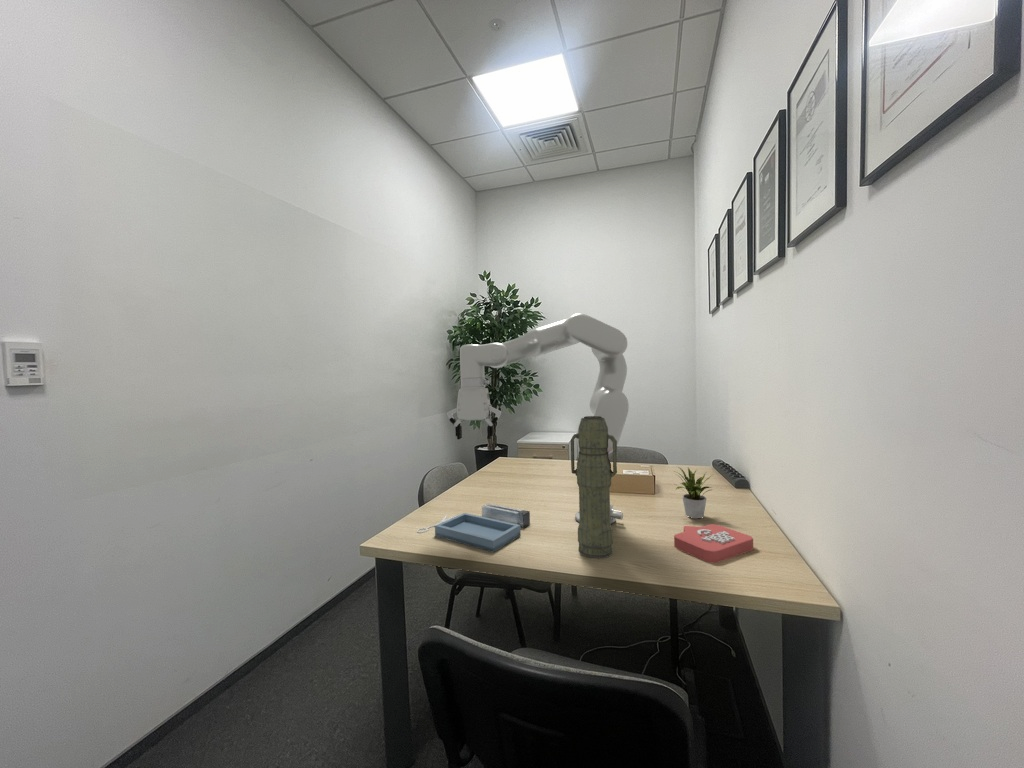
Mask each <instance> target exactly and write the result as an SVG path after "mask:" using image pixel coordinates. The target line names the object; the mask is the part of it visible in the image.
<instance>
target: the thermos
mask: <svg viewBox="0 0 1024 768" xmlns="http://www.w3.org/2000/svg"><path fill="white" fill-rule="evenodd" d="M577 432H578V434H577V433H574V434H573V436H572V437H571V439H570V467H571V469H570V470H571V474H574V475H575V476H576V483H577V486H578V502H579V503H578V504H579V505H578V509H579V511H578V512H579V516H580V522H578V527H577V542H578V552H579V554H580V555H582V556H584V557H587V558H591V559H605V558H608V557H610V556H612V555H613V544H614V540H613V539H614V536H613V528H612V525H611V524H610V505H611V498H610V497H611V491H610V490H611V486H612V478H613V477H614V476H615V475H617V474H618V468H617V464H618V461H617V460H618V457H617V456H618V444H617V440H616V439H615V438H614V436H612V435H609V434H608V427H607V424H606V421H605V419H604V418H602V417H600V416H594V415H589V416H588V415H587V416H583V417H581V418H580V422H579V425H578V429H577ZM575 439H576V440H577V439H579V449H580V452H579V453H578V458H577V462H576V466H575ZM608 439H611V441H612V442H613V451H612V462H611V460H610V458H609V457H608V455H609V454H608V450H607V448H608ZM575 467H576V468H575Z"/></svg>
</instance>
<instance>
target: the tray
mask: <svg viewBox="0 0 1024 768" xmlns="http://www.w3.org/2000/svg"><path fill="white" fill-rule="evenodd" d="M450 518H451V517H450ZM448 519H449V518H448ZM446 520H447V519H446ZM434 525H435V526H434V536H435V537H437V538H441V539H445V540H449V541H452V542H455V543H459V544H463V545H466V546H469V547H473V548H476V549H481V550H484V551H487V552H491V553H495V552H496V551H498V550H500V549H501V548H503V547H505V546H506V545H508V544H509V543H510V542H512V541H514V540H516V539H518V538H519V537H520V536H521V535H522V534H521V527H520V525H518V524H513V523H509V522H504V521H500V520H495V519H491V518H486V517H482V515H476V514H473V513H468V512H463V513H461V514H457V515H456V516H455V517H453V518H451V519H449V520H447V521H445V522H442V523H440V524H438V525H436V524H434Z"/></svg>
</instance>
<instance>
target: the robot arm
mask: <svg viewBox="0 0 1024 768" xmlns="http://www.w3.org/2000/svg"><path fill="white" fill-rule="evenodd" d="M579 343H581V344H583V345H585V346H586V347H589V348H591V352H592V354H593V355H594V357H595V358H596V359H597V361H598V364H599V373H598V376H597V380H596V383H595V386H594V389H593V391H592V395H591V398H590V400H589V408H590V411H591V412H592V414H594V415H593V416H600V417H602V418H604V419H605V421H606V424H607V427H608V434H609V435H612V436H614V438H615V439H616V440H617V445H618V444H619V441H620V439H621V435H622V433H623V430H624V426H625V423H626V421H627V419H628V418H627V417H628V414H629V409H630V406H629V405H630V404H629V400H628V398H627V395H626V394H625V393H624V392H623V390H624V386H625V383H626V379H627V374H628V373H627V372H628V366H627V363H626V358H625V355H623V354H624V353H625V352H626V350H627V348H628V338H627V337H626V335H625V333H623V332H622V331H621V330H620V329H618V328H616V327H614V326H612V325H610V324H608V323H605V322H603V321H601V320H599V319H597V318H595V317H592V316H590V315H587V314H584V313H582V312H581V313H579V312H578V313H575V314H572V315H571V316H569V317H568V318H565V319H562V320H559V321H556V322H553V323H550V324H546V325H543V326H539V327H537V328H533V329H532V330H530V331H528V332H526V333H525V334H523V335H521V336H519V337H516V338H514V339H510V340H508V341H505V342H502V343H501V342H490V343H485V344H475V343H474V344H473V343H471V344H470V343H467V344H462V345H461V346H460V348H459V367H460V368H459V369H460V388H459V389H458V391H457V392H458V393H457V400H456V401H457V402H456V403H457V404H456V407H455V408H452V409H451V410H449V411H447V412H446V416H447V418H448V419H449V422H450V423H451V425H453V426H454V427H455V437H456V439H457V440H461V439H462V438H463V434H462V433H463V432H462V431H463V429H462V425H461V423H462V422H463V421H485V422H486V424H487V427H486V431H487V432H486V433H487V440H491V439H492V437H493V436H494V425H495V423H497V421H498V420H499V418H500V417H501V415H502V411H501V410H499V409H497V408H496V407H493V406H491V400H490V399H491V398H490V394H489V393H490V392H489V388H488V387H486V386H487V385H490V379H486V374H485V367H491V368H493V369H500V368H503V367H505V366H509V365H511V364H513V363H514V364H515V363H517V362H521V361H524V360H527V359H530V358H537V357H539V356H542V355H546V354H549V353H551V352H555V351H557V350H561V349H563V348H564V349H565V348H567V347H570V346H574V345H577V344H579ZM492 413H494V414H495V415H494V417H493V418H491V417H492ZM454 414H456V417H457V419H456V418H455V417H454ZM576 434H578V431H577V433H576ZM576 445H577V450H578V454H579V452H580V449H579V439H577V438H576ZM607 450H608V457H609V455H610V454H611V453H613V442H612V441H611V439H608V448H607ZM574 517H575V518H574V519H575V520H576V521H577V522H578V523H580V516H579V511H577V512H575V514H574ZM623 519H624V514H623V512H622V511H621V510H615V509H614V505H613V504H610V524H613V523H615V522H616V520H623Z"/></svg>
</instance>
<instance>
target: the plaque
mask: <svg viewBox="0 0 1024 768" xmlns="http://www.w3.org/2000/svg"><path fill="white" fill-rule="evenodd" d="M673 537H674V538H673V540H674V541H673V544H674V545H673V547H674V548H676V549H677V550H679V551H682V553H683V552H684V553H686V554H688V555H691V556H693V557H695V558H697V559H700V560H702V561H705V562H707V563H712V564H713V563H714V564H716V563H720V562H721V561H725V560H728V559H731V558H733V557H737V556H739V555H742V554H745V553H747V552H750V551H753V550H754V538H753V536H751V535H748V534H747V533H746V534H745V533H743V532H740V531H736V530H734V529H731V528H728V527H726V526H722V525H718V524H712V523H711V524H707V525H703V526H695V525H694V526H692V525H683V531H682V532H679V533H675V534H674V535H673Z"/></svg>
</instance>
